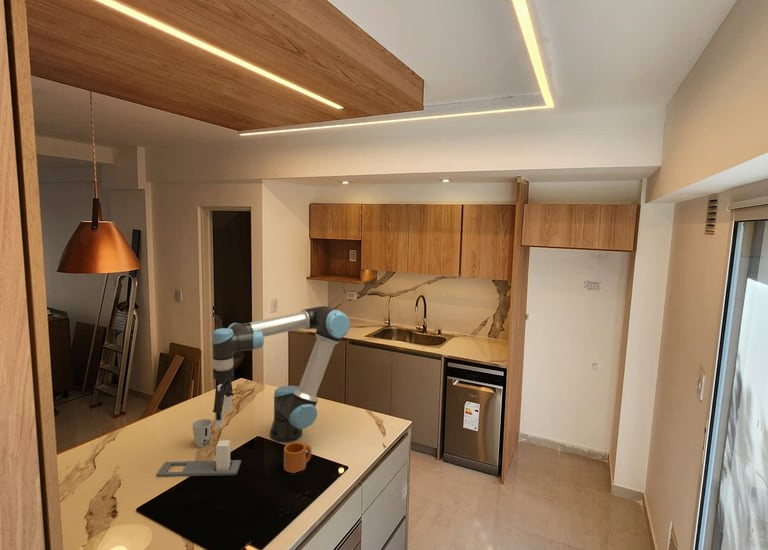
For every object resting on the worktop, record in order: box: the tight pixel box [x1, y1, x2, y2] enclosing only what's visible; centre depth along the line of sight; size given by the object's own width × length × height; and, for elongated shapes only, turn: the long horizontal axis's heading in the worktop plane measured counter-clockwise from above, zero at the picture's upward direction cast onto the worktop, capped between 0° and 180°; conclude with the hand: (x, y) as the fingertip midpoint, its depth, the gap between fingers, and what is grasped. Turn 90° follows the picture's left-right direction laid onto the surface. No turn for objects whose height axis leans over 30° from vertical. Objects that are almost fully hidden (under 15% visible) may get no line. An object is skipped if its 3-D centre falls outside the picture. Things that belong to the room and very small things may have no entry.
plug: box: [215, 439, 231, 471], centre depth 173 cm, size 5×4×11 cm
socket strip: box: [156, 459, 242, 478], centre depth 173 cm, size 30×9×1 cm, turn 97°
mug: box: [283, 441, 312, 473], centre depth 177 cm, size 9×12×9 cm
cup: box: [191, 418, 213, 448], centre depth 191 cm, size 8×8×10 cm
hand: (223, 419), depth 172 cm, fingers open, 13 cm apart
